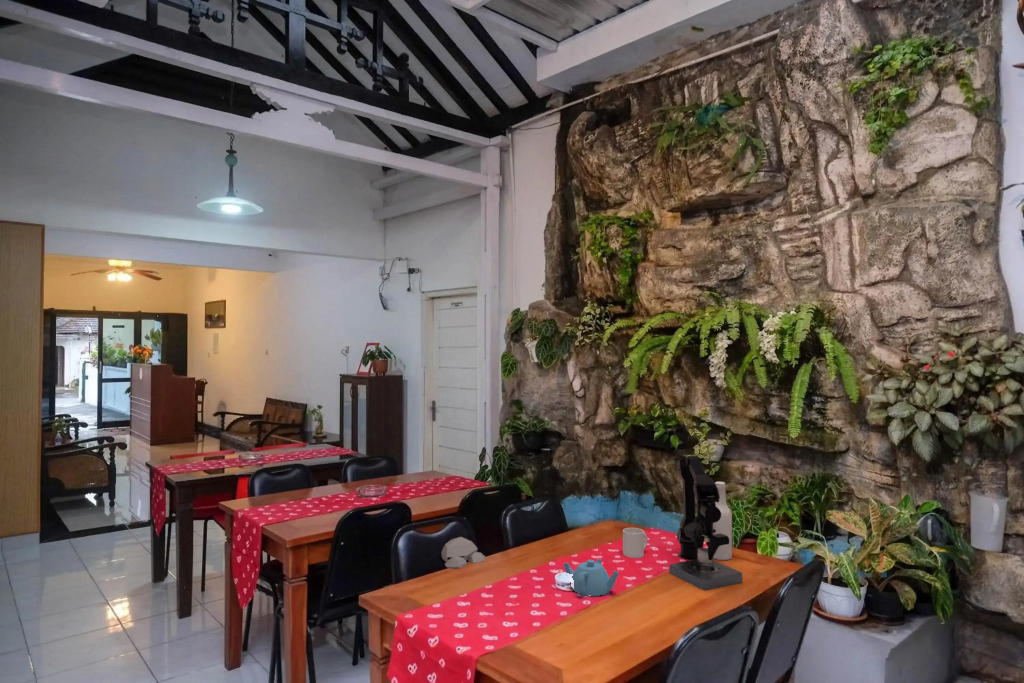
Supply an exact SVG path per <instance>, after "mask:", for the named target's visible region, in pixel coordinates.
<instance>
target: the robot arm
mask: <svg viewBox="0 0 1024 683" xmlns="http://www.w3.org/2000/svg"><path fill="white" fill-rule="evenodd" d="M676 469H677V472H678V473H677V474H678V475H679V477H680V479H681V480H682V499H683V500H682V501H683V502H682V503H683V517H682V519H681V521H680V522H679V528H678V530H677V533H676V540H677V542H678V543H679V544H680V554H677V557H680V558H683V559H684V560H686V561H690V560H695V559H698V548H702V547H703V548H704V545H706V546H707V548H708V557H709V560H713V556H714V554H715V552H716V551H717V549H718V547H719V546H721V545H726V544H729V537H728V536H726V535H723V534H721V533H720V534H713V533H716V530H715V529H713V523H715V522H717V521H719V520H720V518H721V512H720V510H719V509H718V508H717V507H716V504H715V502H719V498H720V496H719V492H718V488H717V487H716V484H715V482H714V480H713V478H712V477H710V476H708V475H707V473H706V472H705V469H704V467H703V466H702V463H701V458H700V456H698V455H688V456H686V457H683V458H679V459H678V460H677V461H676ZM705 538H707V539H708V541H706V542H705ZM704 542H705V543H704Z"/></svg>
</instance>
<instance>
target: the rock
mask: <svg viewBox="0 0 1024 683" xmlns="http://www.w3.org/2000/svg"><path fill="white" fill-rule="evenodd" d="M441 559H442V560H443V561H444V562H445V563H444V565H445V567H446V568H448V569H449V568H450V569H458V570H459V569H463V568H465V567H466V566H467V563H468V562H469V563H472V564H477V563H483V562H484V560H486V555H484V554H483V553H482V552H479V551H478V547H477V546H476V544H475V543H474V542H473V541H472V540H469V539H468V538H465V537H462V536H458V537H455V538H452V539H450V540H449V541H448V542H446V543H445V544H444V546H443V547H442V549H441ZM467 561H468V562H467ZM482 561H483V562H482Z"/></svg>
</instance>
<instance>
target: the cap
mask: <svg viewBox="0 0 1024 683" xmlns="http://www.w3.org/2000/svg"><path fill="white" fill-rule="evenodd" d="M697 559H698V561H699V562H703V563H711V562H712V560H713V559H712V560H709V557H708V547H704V546H703V547H702V548H698V558H697Z"/></svg>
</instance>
